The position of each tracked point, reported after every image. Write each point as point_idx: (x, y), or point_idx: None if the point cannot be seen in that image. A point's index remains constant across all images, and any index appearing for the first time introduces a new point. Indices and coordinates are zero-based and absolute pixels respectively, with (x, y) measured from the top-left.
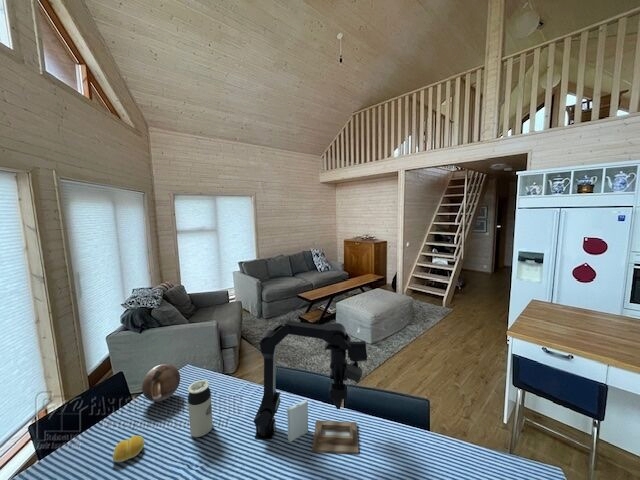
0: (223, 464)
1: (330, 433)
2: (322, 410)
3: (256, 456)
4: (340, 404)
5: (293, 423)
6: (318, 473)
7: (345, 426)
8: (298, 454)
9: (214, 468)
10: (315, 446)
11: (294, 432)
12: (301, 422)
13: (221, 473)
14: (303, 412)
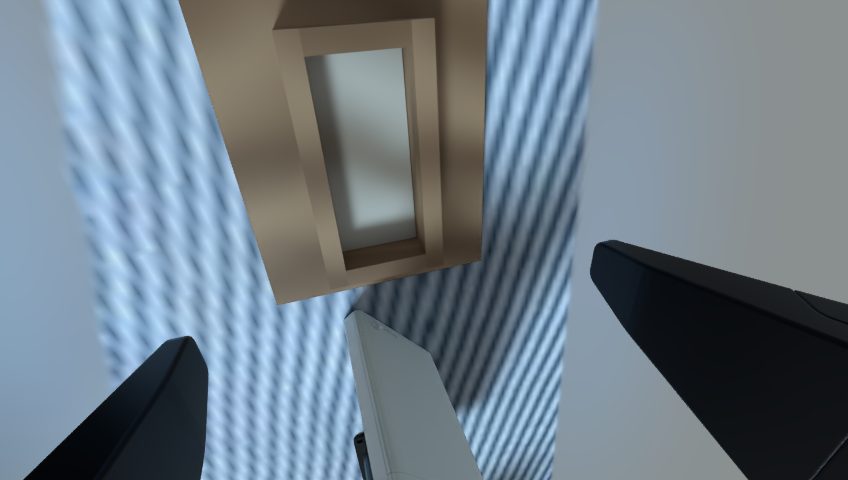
0: (527, 461)
1: (364, 194)
2: (142, 292)
3: (501, 413)
4: (726, 281)
5: (447, 419)
6: (575, 195)
7: (311, 96)
8: (489, 300)
9: (537, 469)
10: (464, 250)
11: (427, 372)
12: (407, 385)
13: (552, 449)
14: (411, 434)
